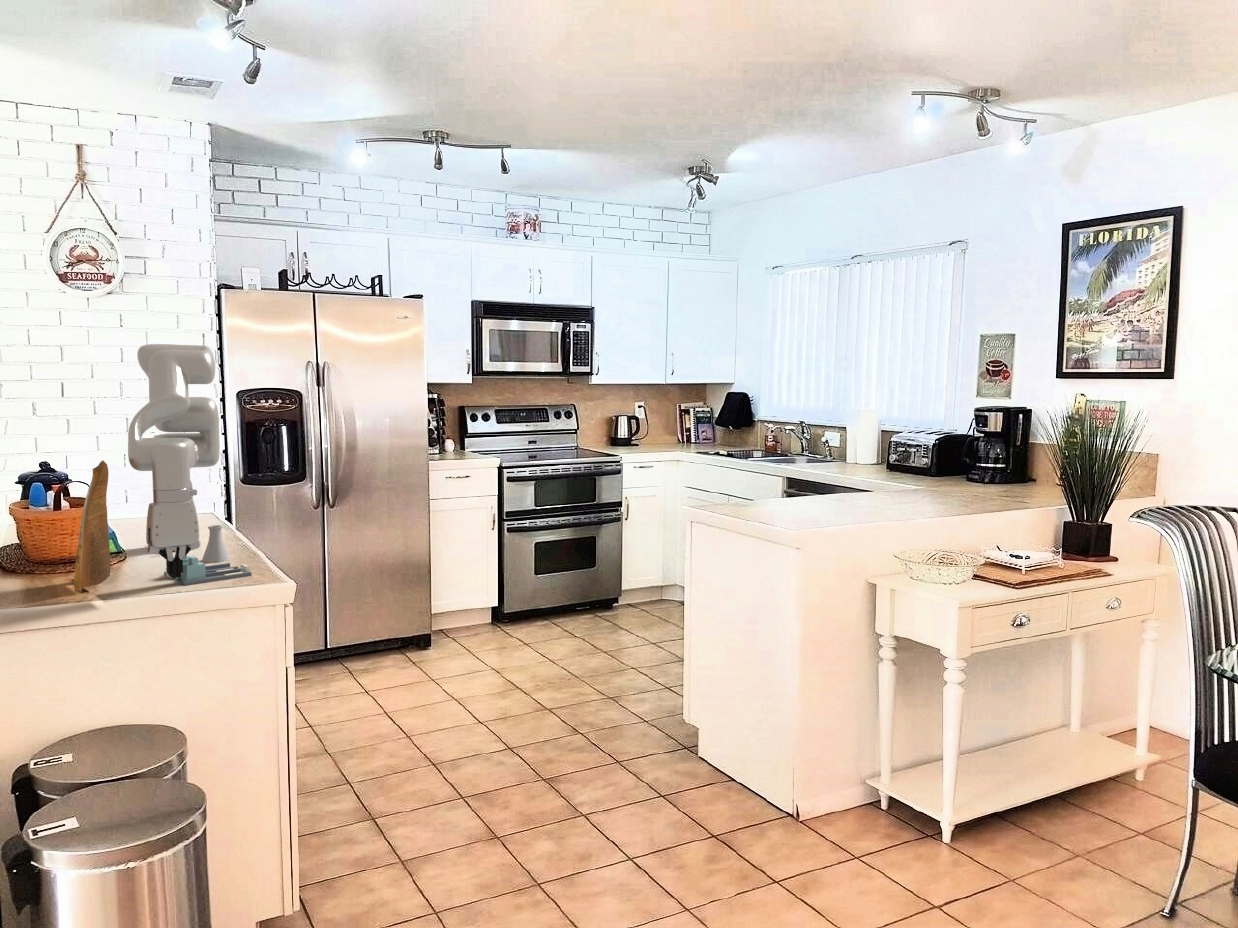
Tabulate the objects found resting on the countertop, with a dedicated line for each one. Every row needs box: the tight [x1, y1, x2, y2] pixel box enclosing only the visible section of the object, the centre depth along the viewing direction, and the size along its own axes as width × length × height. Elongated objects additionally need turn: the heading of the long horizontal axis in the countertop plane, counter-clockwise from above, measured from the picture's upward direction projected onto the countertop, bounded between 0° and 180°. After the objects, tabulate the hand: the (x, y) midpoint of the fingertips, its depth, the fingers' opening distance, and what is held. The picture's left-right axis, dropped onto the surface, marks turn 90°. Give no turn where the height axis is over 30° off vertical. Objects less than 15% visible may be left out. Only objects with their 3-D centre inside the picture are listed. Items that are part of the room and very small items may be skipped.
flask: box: [200, 524, 232, 564], centre depth 226 cm, size 7×7×10 cm
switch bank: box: [163, 562, 253, 587], centre depth 210 cm, size 14×15×3 cm
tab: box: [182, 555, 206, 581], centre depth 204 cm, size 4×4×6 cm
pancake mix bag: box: [73, 460, 111, 594], centre depth 203 cm, size 7×19×28 cm, turn 16°
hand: (175, 576), depth 201 cm, fingers closed
